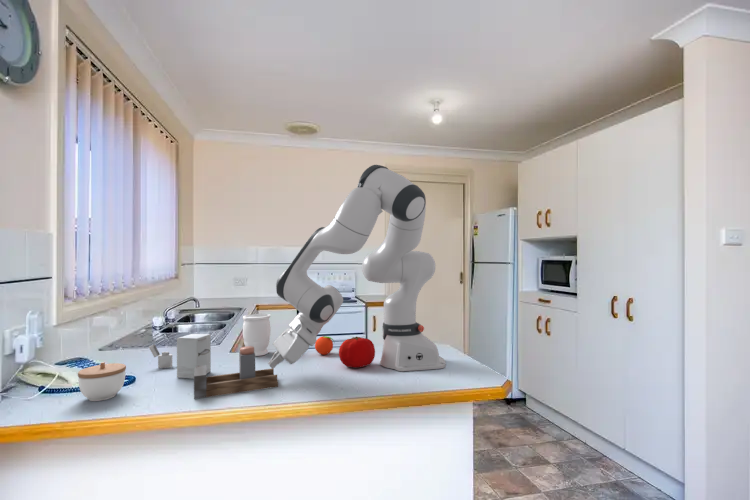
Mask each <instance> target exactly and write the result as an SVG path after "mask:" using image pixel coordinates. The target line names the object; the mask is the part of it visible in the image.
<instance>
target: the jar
mask: <svg viewBox="0 0 750 500" xmlns="http://www.w3.org/2000/svg"><path fill="white" fill-rule="evenodd" d="M270 319H271V314H269V313H252V314H245V315H243V316H242V320H244V321H243V324H242V338H243V344H244V347H247V346H252V347H254V353H255V357H261V356H265V355H267V354H269V350H268V347H269V345H270V339H271V338H270V337H271V323H270V322H271V321H270Z"/></svg>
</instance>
